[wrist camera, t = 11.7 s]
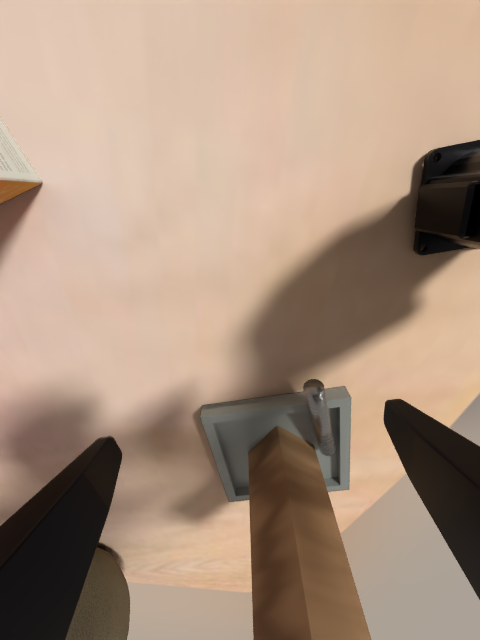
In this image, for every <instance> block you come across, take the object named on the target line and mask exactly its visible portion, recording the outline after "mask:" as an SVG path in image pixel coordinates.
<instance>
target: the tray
mask: <svg viewBox="0 0 480 640" xmlns="http://www.w3.org/2000/svg"><path fill="white" fill-rule="evenodd" d="M324 390H325V395H326V400H327V406H328V411H329V416H330V422H331V427H332V432H333V437H334V443H335V448H336V450H335V453H334V454H333V455H332V456H325V455H323V454H322V453H321V452H320V450H319V446H318V442H317V438H316V434H315V431H314V427H313V423H312V419H311V415H310V411H309V408H308V404H307V400H306V396H305V392H298V393H291V394H283V395H276V396H268V397H261V398H253V399H246V400H238V401H231V402H223V403H216V404H209V405H202V410H201V416H200V418H201V421H202V424H203V427H204V430H205V433H206V436H207V439H208V442H209V444H210V447H211V450H212V453H213V456H214V459H215V462H216V465H217V468H218V471H219V474H220V477H221V480H222V483H223V486H224V489H225V492H226V495H227V498H228V501H229V502H234V501H244V500H249V467H248V452H249V451H250V450H251V449H252V448H253V447H254V446H255V445H256V444H257V443H259V442H260V441H261V440H262V439H263V438H264V437H265V436H266V435H267V434H268V433H269V432H271V431H272V430H273V429H274V428H275V427H276V426H277V425H278V426H279V427H281V428H283V429H285V430H287V431H289V432H291V433H293V434H294V435H296V436H298V437H300V438H302V439H304V440H306V441H307V442H309V443H311V444H313V445H314V447H315V451H316V454H317V457H318V461H319V464H320V468H321V471H322V474H323V478H324V481H325V484H326V488H327V491H328V492H332V491H342V490H349V482H350V432H351V396H350V394H349V393H348V391H347V389H346V387H345V386H343V387H335V388H328V389H324Z"/></svg>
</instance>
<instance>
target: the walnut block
mask: <svg viewBox="0 0 480 640" xmlns="http://www.w3.org/2000/svg"><path fill="white" fill-rule="evenodd" d="M248 467H249V500H250V534H251V567H252V601H253V632H254V640H371V636H370V633H369V630H368V626H367V623H366V620H365V616H364V613H363V609H362V606H361V603H360V599H359V596H358V593H357V589H356V586H355V583H354V579H353V576H352V572H351V569H350V566H349V563H348V559H347V555H346V552H345V549H344V545H343V542H342V539H341V535H340V532H339V528H338V525H337V522H336V518H335V515H334V511H333V508H332V505H331V501H330V498H329V495H328V491H327V488H326V484H325V481H324V478H323V474H322V471H321V468H320V464H319V461H318V457H317V454H316V451H315V447H314V445H313V444H311V443H309V442H307V441H306V440H304V439H302V438H300V437H298V436H296V435H294V434H293V433H291V432H289V431H287V430H285V429H283V428H281V427H279V426H278V425H277V426H276V427H275V428H274V429H273V430H272V431H271V432H269V433H268V434H267V435H266V436H265V437H264V438H263V439H262V440H261V441H260V442H259V443H257V444H256V445H255V446H254V447H253V448H252V449H251V450H250V451H249V452H248Z"/></svg>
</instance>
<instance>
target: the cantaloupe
mask: <svg viewBox="0 0 480 640" xmlns="http://www.w3.org/2000/svg"><path fill="white" fill-rule="evenodd" d="M129 614H130V596H129V590H128V585H127V582H126V579H125V577H124V574H123V572H122V570H121V568H120V566H119V564H118V563H117V561H116V560H115V559H114V558H113V556H112V555H111V554H109V553H108V552H107V551H105V550H103V549H101V548H98V547H97V548H96V551H95V554H94V557H93V560H92V563H91V566H90V569H89V572H88V575H87V578H86V581H85V583H84V586H83V589H82V592H81V595H80V598H79V601H78V604H77V607H76V610H75V613H74V616H73V619H72V622H71V625H70V628H69V631H68V634H67V637H66V640H127V636H128V631H129Z"/></svg>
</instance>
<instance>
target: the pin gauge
mask: <svg viewBox="0 0 480 640" xmlns="http://www.w3.org/2000/svg"><path fill="white" fill-rule="evenodd" d="M303 388H304V392H305V396H306V400H307V404H308V408H309V411H310V415H311V419H312V423H313V427H314V431H315V434H316V438H317V442H318V446H319V450H320V452H321V453H322V454H323V455H325V456H332V455H333V454H334V453H335V450H336V448H335V443H334V437H333V432H332V427H331V422H330V416H329V411H328V406H327V400H326V395H325V390H324V385H323V383H322V382H321V381H319V380H317V379H311V380H308V381H307V382H306V383H305V384H304V387H303Z"/></svg>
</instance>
